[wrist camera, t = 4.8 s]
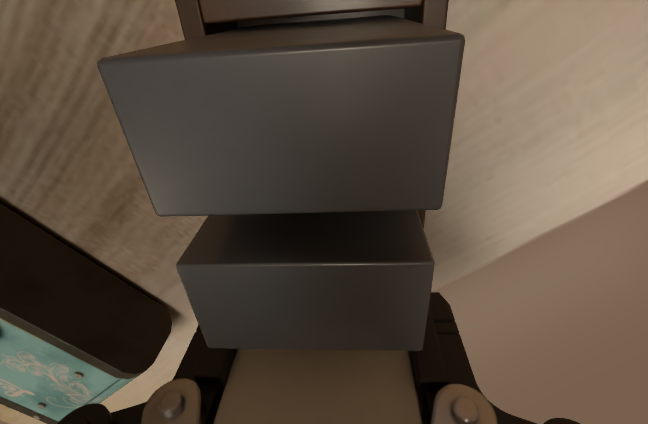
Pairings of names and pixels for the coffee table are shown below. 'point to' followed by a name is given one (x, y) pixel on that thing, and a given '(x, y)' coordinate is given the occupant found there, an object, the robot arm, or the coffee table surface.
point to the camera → (67, 325)
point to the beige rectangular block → (320, 388)
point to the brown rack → (298, 163)
